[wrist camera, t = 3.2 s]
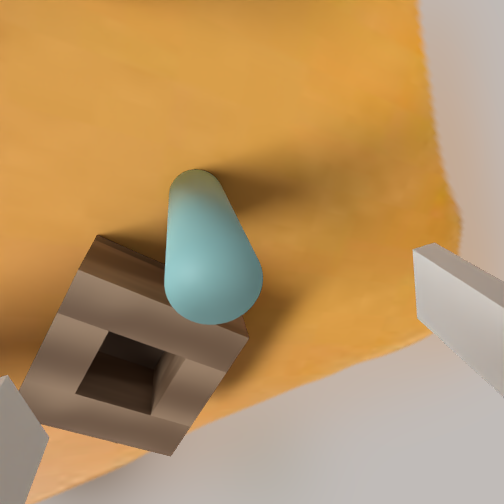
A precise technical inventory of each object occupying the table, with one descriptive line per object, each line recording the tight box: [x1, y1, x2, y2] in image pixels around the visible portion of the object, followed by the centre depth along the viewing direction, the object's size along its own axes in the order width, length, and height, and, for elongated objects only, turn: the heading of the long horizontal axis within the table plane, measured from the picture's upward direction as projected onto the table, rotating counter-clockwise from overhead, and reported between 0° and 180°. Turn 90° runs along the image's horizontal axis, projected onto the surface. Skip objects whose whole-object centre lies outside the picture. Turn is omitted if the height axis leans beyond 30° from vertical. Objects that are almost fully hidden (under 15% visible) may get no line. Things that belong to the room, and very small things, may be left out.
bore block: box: [19, 235, 249, 456], centre depth 29 cm, size 12×12×6 cm
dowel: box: [164, 169, 263, 325], centre depth 22 cm, size 4×4×14 cm
